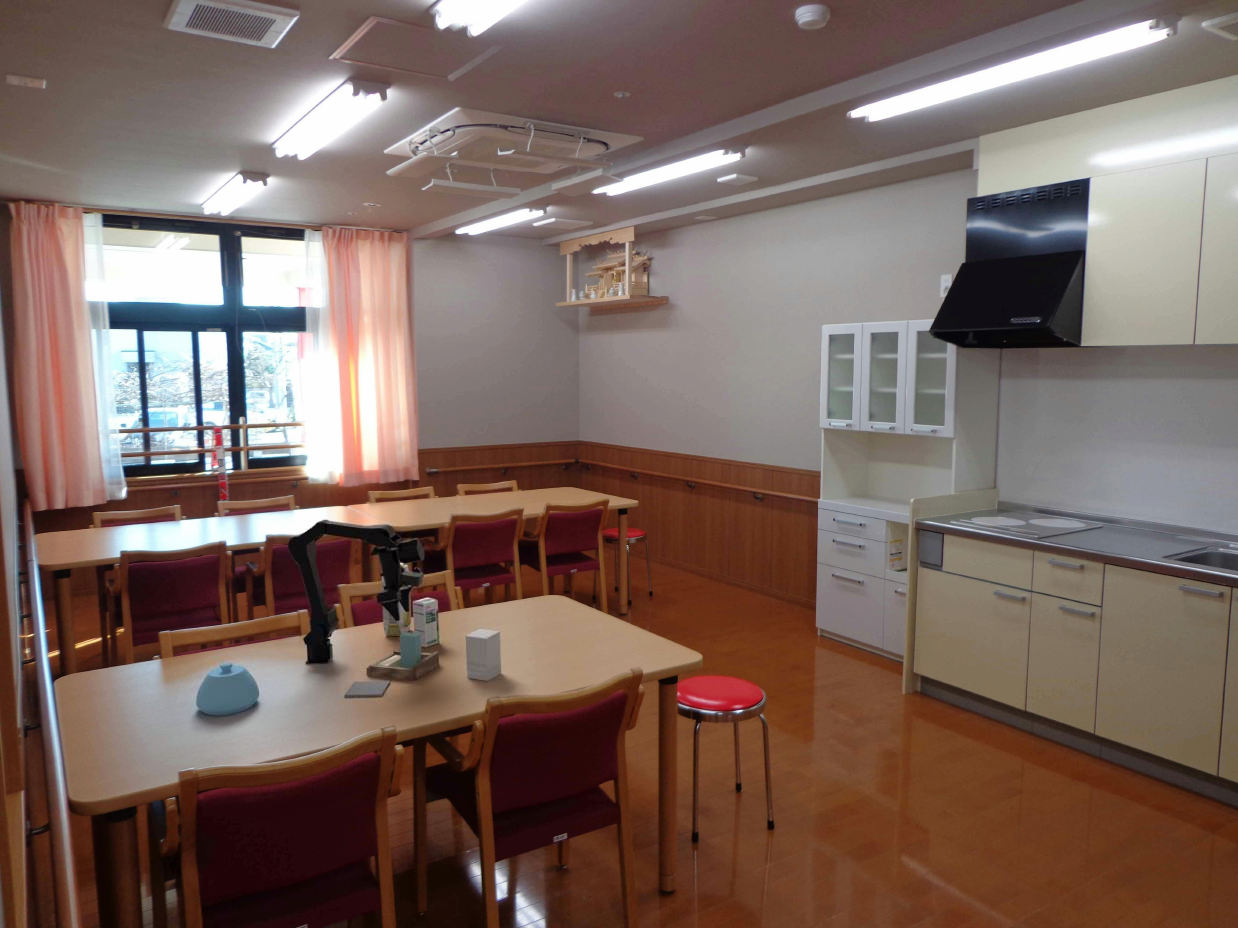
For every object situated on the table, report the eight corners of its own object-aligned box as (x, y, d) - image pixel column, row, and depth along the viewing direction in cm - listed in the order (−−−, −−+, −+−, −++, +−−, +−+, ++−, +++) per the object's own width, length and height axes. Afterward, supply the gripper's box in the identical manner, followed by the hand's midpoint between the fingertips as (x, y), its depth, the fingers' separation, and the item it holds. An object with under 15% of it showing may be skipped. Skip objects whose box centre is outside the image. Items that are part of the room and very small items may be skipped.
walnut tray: (365, 675, 238) (365, 661, 238) (392, 659, 252) (391, 646, 252) (415, 680, 234) (415, 667, 233) (440, 664, 247) (439, 651, 247)
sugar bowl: (218, 722, 207) (216, 678, 205) (184, 710, 215) (182, 667, 213) (271, 702, 219) (269, 660, 218) (237, 691, 227) (235, 650, 226)
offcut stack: (376, 674, 240) (376, 664, 240) (395, 663, 249) (395, 653, 249) (390, 676, 239) (389, 666, 238) (408, 664, 248) (408, 655, 248)
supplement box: (502, 673, 240) (501, 631, 238) (487, 681, 233) (486, 638, 232) (480, 669, 243) (479, 627, 241) (466, 677, 236) (464, 635, 235)
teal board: (401, 671, 242) (399, 635, 240) (406, 667, 244) (405, 631, 243) (416, 673, 240) (415, 636, 239) (421, 669, 243) (420, 633, 242)
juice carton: (405, 637, 273) (403, 566, 271) (382, 637, 273) (379, 566, 271) (413, 628, 283) (410, 560, 280) (390, 628, 283) (387, 560, 280)
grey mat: (344, 697, 222) (344, 695, 222) (354, 683, 232) (354, 681, 232) (381, 696, 223) (381, 694, 223) (390, 682, 233) (390, 680, 233)
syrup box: (425, 647, 263) (424, 603, 261) (413, 644, 266) (412, 600, 265) (439, 642, 267) (438, 599, 265) (427, 639, 271) (426, 596, 269)
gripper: (407, 568, 237) (419, 620, 239) (425, 554, 256) (436, 602, 257) (370, 576, 238) (382, 627, 239) (391, 561, 256) (402, 609, 258)
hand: (402, 616), depth 249 cm, fingers open, 9 cm apart
